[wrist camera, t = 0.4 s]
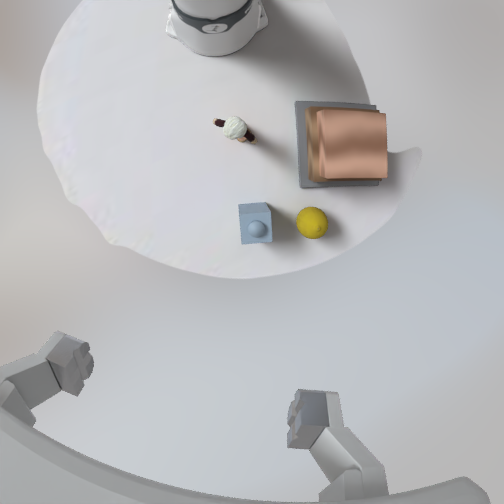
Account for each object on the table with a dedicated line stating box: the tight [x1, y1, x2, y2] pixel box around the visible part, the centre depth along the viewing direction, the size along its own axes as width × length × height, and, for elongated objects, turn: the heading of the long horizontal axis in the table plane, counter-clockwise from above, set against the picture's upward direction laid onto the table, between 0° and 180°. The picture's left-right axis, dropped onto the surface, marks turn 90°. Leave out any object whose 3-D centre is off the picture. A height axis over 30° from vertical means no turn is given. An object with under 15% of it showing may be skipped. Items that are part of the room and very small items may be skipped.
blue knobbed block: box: [238, 202, 272, 244], centre depth 50 cm, size 5×5×9 cm
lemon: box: [296, 207, 328, 239], centre depth 51 cm, size 6×6×8 cm
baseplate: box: [295, 101, 379, 188], centre depth 50 cm, size 16×16×1 cm
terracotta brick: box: [305, 106, 387, 182], centre depth 45 cm, size 13×13×8 cm
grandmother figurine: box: [213, 116, 257, 144], centre depth 43 cm, size 8×4×13 cm, turn 73°
